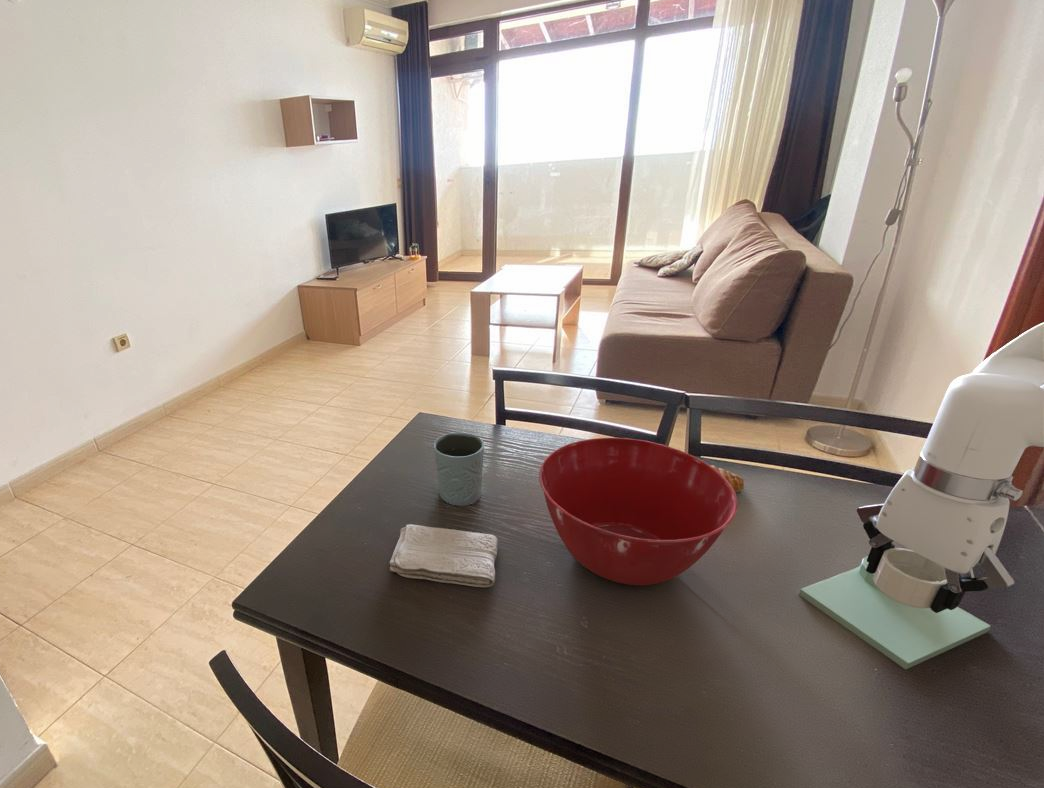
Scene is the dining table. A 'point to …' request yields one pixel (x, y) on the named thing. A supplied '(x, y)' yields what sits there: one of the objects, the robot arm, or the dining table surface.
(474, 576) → the washcloth
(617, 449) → the mixing bowl
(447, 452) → the grey green cup
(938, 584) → the bowl
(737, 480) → the pastry
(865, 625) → the scale
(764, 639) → the dining table surface
